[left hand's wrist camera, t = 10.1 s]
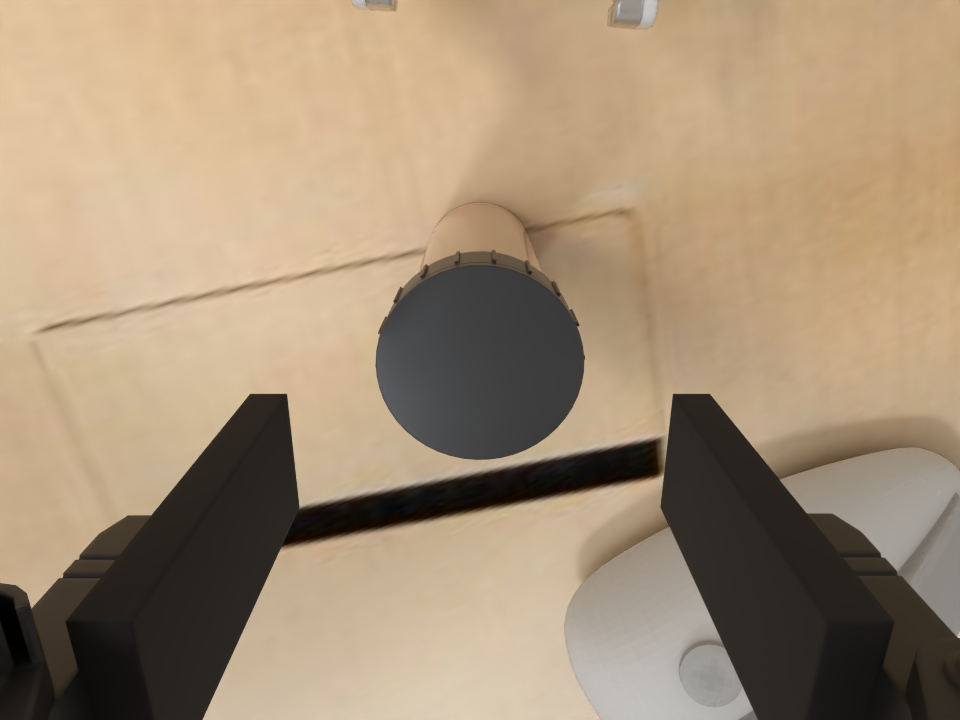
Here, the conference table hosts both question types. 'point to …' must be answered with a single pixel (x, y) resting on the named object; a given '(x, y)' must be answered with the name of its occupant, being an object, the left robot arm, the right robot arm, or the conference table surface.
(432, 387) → the lid
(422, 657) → the conference table surface
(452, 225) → the jar
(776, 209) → the conference table surface
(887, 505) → the projector
